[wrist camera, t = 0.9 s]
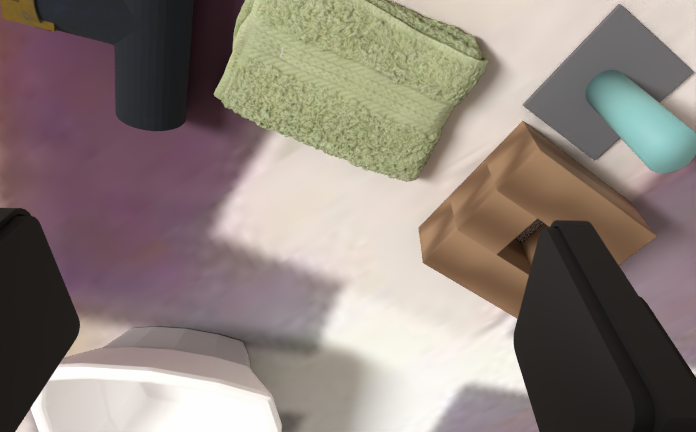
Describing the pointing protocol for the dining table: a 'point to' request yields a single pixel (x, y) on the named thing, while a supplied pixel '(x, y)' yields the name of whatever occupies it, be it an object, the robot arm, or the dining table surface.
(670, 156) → the peg
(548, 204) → the hole block
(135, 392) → the bowl
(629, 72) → the mat
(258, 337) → the dining table surface
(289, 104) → the washcloth
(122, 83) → the pipe connector
